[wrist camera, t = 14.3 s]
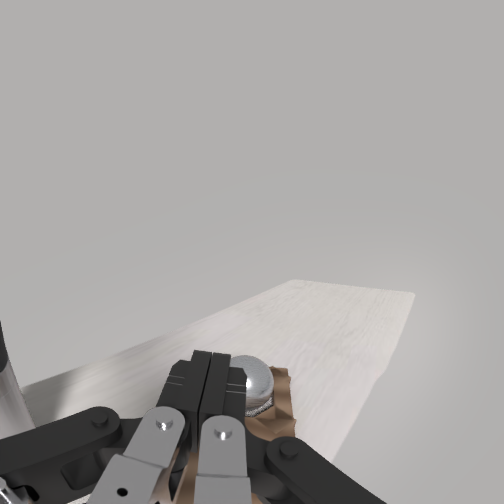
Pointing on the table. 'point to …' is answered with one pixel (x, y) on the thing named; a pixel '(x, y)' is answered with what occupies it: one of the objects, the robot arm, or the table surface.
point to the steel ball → (255, 380)
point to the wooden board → (253, 431)
